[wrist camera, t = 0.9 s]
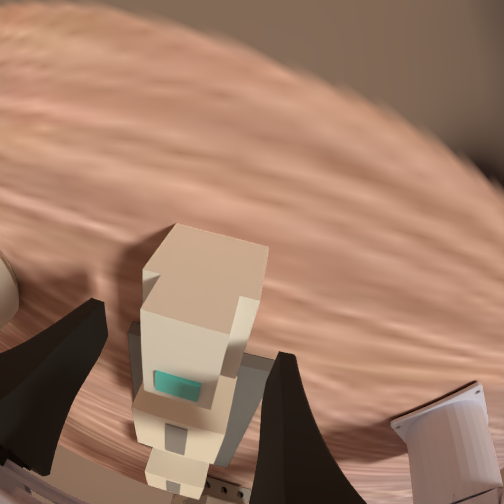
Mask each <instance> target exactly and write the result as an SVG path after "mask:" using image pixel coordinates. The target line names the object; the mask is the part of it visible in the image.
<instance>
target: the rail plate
mask: <svg viewBox="0 0 504 504" xmlns="http://www.w3.org/2000/svg"><path fill="white" fill-rule="evenodd" d="M128 344H129V355H130V365H131V375H132V383H133V391H134V398H135V400H134V402H133V405H132V407H131V408H132V414H133V419H134V425H135V430H136V435H137V440H138V442H139V443H142V444H143V445H146V446H149V447H152V448H153V449H152V451H151V454H150V457H149V460H148V463H147V466H146V469H145V475H146V479H147V483H148V485H149V486H152V487H155V488H158V489H162V490H165V491H168V492H172V493H175V494H179V495H183V496H186V497H190V498H194V499H198V500H199V498H200V496H201V494H202V491H203V489H204V485H205V481H206V476H207V472H208V468H209V464H212V465H216V466H221V467H225V468H227V466H228V464H229V463H230V461H231V459H232V457H233V455H234V453H235V451H236V449H237V447H238V445H239V443H240V441H241V439H242V437H243V435H244V433H245V431H246V429H247V427H248V425H249V423H250V421H251V419H252V417H253V415H254V413H255V411H256V409H257V407H258V405H259V403H260V401H261V399H262V397H263V394H264V389H265V384H266V380H267V378H268V375H269V373H270V371H271V369H272V366H273V364H274V362H275V360H271V359H267V358H263V357H258V356H254V355H250V354H246V353H244V354H243V357H242V360H241V363H240V366H239V369H238V372H237V375H236V379H233V378H229V377H225V376H221V375H220V376H219V379H218V383H217V387H216V391H215V395H214V399H213V403H212V407H211V410H208V409H205V408H201V407H197V406H194V405H190V404H186V403H183V402H180V401H176V400H173V399H170V398H166V397H163V396H160V395H157V394H154V393H151V392H148V391H145V390H144V383H143V369H142V350H141V324H140V323H137V322H133V324H132V325H131V327H130V329H129V331H128Z"/></svg>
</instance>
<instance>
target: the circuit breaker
mask: <svg viewBox="0 0 504 504" xmlns="http://www.w3.org/2000/svg"><path fill="white" fill-rule="evenodd" d="M250 492H251V489H247V488H244V487H240V486H237V485H233V484H230V483H226V482H223V481H220V480H217V479H214V478H211V477H208V476H206V481H205V485H204V489H203V491H202V494H201V496H200V498H199V500H198V499H194V498H190V497H186V496H183V495H179V494H175V493H174V494H173V497H172V501H171V504H246V503H248V502H249V498H250ZM175 495H176V497H175Z"/></svg>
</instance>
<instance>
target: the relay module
mask: <svg viewBox="0 0 504 504" xmlns="http://www.w3.org/2000/svg"><path fill="white" fill-rule="evenodd" d="M268 252H269V247H268V246H264V245H260V244H256V243H252V242H248V241H245V240H241V239H237V238H233V237H229V236H225V235H221V234H217V233H213V232H209V231H205V230H202V229H198V228H194V227H190V226H186V225H182V224H178V223H176V224H175V226H174V227H173V228H172V230H171V231H170V232H169V234H168V235H167V236H166V238H165V239H164V240H163V242H162V243H161V245H160V246H159V247H158V249H157V250H156V251H155V253H154V254H153V256H152V257H151V258H150V260H149V261H148V262H147V264H146V265H145V267H144V268H143V287H142V307H141V309H140V321H141V350H142V369H143V383H144V390H145V391H148V392H151V393H154V394H157V395H160V396H163V397H166V398H170V399H173V400H176V401H180V402H183V403H186V404H190V405H194V406H197V407H201V408H205V409H208V410H211V407H212V403H213V399H214V395H215V391H216V387H217V383H218V379H219V376H220V375H221V376H225V377H229V378H233V379H236V375H237V372H238V369H239V366H240V363H241V360H242V357H243V354H244V351H245V348H246V344H247V341H248V338H249V335H250V332H251V329H252V325H253V322H254V319H255V316H256V313H257V310H258V306H259V303H260V299H261V293H262V287H263V282H264V276H265V270H266V264H267V258H268Z"/></svg>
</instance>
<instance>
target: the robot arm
mask: <svg viewBox="0 0 504 504" xmlns="http://www.w3.org/2000/svg"><path fill="white" fill-rule="evenodd" d="M107 337H108V330H107V323H106V315H105V306H104V302H102V301H99V300H96V299H93V298H91V299H89V300H88V301H86V302H85V303H83V304H82V305H80V306H79V307H78V308H76V309H75V310H73V311H72V312H71V313H69V314H68V315H66V316H65V317H64V318H62V319H61V320H59V321H58V322H56V323H55V324H53V325H52V326H50V327H49V328H47V329H46V330H44V331H42V332H41V333H39V334H38V335H36V336H34V337H33V338H31V339H29V340H28V341H26V342H24V343H22V344H20V345H18V346H16V347H14V348H12V349H10V350H7V351H5V352H3V353H0V504H46V503H44V502H42V501H40V500H39V499H37V498H36V497H34V496H32V494H31V491H30V489H31V490H32V491H34V492H36V493H37V494H39V495H41V496H43V497H44V498H46V499H48V500H50V501H52V502H54V503H55V504H89V503H86V502H84V501H82V500H80V499H78V498H75V497H73V496H71V495H69V494H67V493H65V492H63V491H61V490H60V489H57V488H56V487H54V486H52V485H50V484H48V483H47V482H45V481H43V480H41V479H39V478H38V477H36V476H34V475H33V474H30V473H29V472H28V471H26V470H24V469H23V467H25V468H26V469H28V470H29V471H30V470H33V471H34V472H36V473H38V474H39V475H41V476H47V475H49V474H50V470H51V466H52V462H53V458H54V454H55V450H56V447H57V443H58V440H59V437H60V434H61V431H62V428H63V425H64V423H65V420H66V417H67V415H68V412H69V410H70V408H71V405H72V403H73V401H74V399H75V397H76V395H77V393H78V391H79V390H80V388H81V386H82V384H83V383H84V381H85V379H86V378H87V376H88V374H89V373H90V371H91V369H92V368H93V366H94V364H95V362H96V361H97V359H98V357H99V356H100V353H101V351H102V349H103V347H104V344H105V342H106V340H107ZM488 423H489V422H488V415H487V409H486V403H485V397H484V392H483V387H482V384H481V382H476V383H474V384H472V385H470V386H468V387H466V388H464V389H462V390H460V391H458V392H456V393H454V394H452V395H450V396H448V397H446V398H444V399H442V400H439V401H437V402H435V403H433V404H431V405H428V406H426V407H424V408H421V409H419V410H416V411H414V412H412V413H409V414H407V415H404V416H402V417H399V418H396V419H394V420H392V421H391V422H390V425H391V427H392V429H393V430H394V431H395V432H396V433H397V434H398V435H399V437H400V438H401V439H402V440H403V441H404V442H405V443H406V444H407V450H408V457H409V465H410V474H411V483H412V493H413V504H504V489H503V484H502V479H501V474H500V470H499V465H498V461H497V457H496V453H495V449H494V446H493V442H492V438H491V435H490V431H489V428H488ZM249 504H367V503H366V502H365V501H364V500H363V499H362V497H361V496H360V495H359V494H358V493H357V491H356V490H355V489H354V488H353V486H352V485H351V484H350V482H349V481H348V480H347V478H346V477H345V475H344V474H343V472H342V471H341V469H340V468H339V466H338V465H337V463H336V461H335V460H334V458H333V457H332V455H331V453H330V451H329V449H328V447H327V446H326V444H325V442H324V440H323V438H322V436H321V433H320V431H319V429H318V427H317V424H316V422H315V419H314V417H313V415H312V412H311V409H310V406H309V403H308V400H307V397H306V394H305V391H304V388H303V385H302V381H301V377H300V373H299V369H298V365H297V360H296V356H295V355H294V354H289V353H284V352H280V351H279V353H278V355H277V357H276V360H275V362H274V364H273V366H272V369H271V371H270V373H269V375H268V378H267V380H266V384H265V389H264V394H263V400H262V409H261V424H260V439H259V453H258V461H257V466H256V471H255V477H254V482H253V486H252V491H251V496H250V500H249Z"/></svg>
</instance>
